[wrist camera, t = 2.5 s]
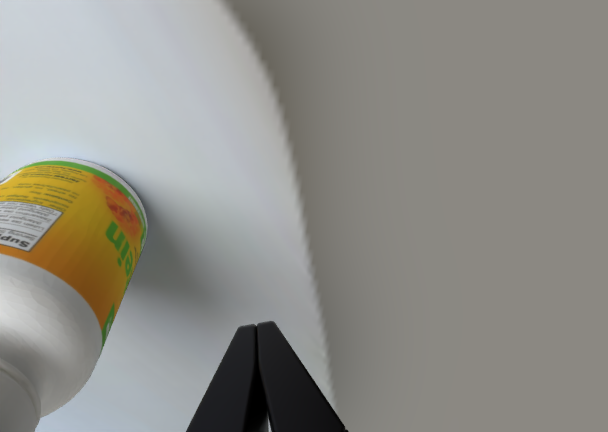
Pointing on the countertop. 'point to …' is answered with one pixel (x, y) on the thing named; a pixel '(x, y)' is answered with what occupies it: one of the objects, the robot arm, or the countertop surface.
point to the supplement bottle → (60, 279)
